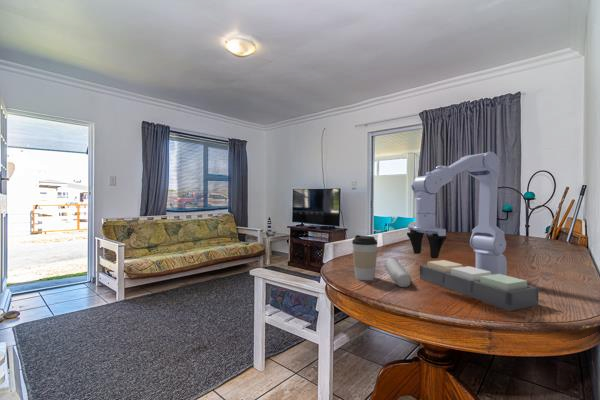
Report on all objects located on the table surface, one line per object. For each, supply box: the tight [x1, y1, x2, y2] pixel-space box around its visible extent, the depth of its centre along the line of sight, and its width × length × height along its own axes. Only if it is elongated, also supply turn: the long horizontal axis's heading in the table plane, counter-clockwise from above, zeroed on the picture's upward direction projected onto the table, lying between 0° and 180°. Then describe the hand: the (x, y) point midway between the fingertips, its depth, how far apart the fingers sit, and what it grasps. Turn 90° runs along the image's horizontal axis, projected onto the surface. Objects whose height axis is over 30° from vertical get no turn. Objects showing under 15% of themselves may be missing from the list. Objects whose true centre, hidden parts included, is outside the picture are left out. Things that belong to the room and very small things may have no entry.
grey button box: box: [419, 264, 539, 312], centre depth 89 cm, size 11×31×5 cm, turn 19°
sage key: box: [480, 274, 528, 291], centre depth 80 cm, size 8×8×2 cm
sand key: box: [426, 259, 464, 272], centre depth 98 cm, size 8×8×2 cm
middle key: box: [451, 265, 491, 281], centre depth 89 cm, size 8×8×2 cm
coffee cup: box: [351, 234, 378, 281], centre depth 103 cm, size 9×9×15 cm
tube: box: [384, 256, 411, 288], centre depth 103 cm, size 5×5×25 cm
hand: (425, 255), depth 92 cm, fingers open, 7 cm apart
